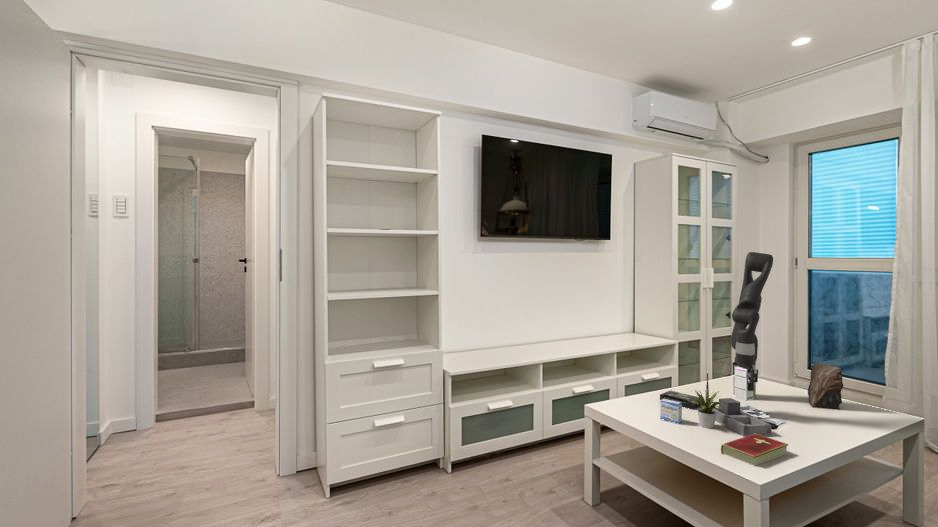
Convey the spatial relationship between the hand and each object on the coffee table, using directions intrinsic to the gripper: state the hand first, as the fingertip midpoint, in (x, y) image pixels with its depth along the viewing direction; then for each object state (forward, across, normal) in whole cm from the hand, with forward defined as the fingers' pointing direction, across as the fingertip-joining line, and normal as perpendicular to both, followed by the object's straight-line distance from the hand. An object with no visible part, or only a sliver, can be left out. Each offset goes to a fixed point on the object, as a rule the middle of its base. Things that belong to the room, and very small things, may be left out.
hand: (744, 388), depth 204 cm
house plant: (+11, +14, -28) cm, 33 cm away
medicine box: (+12, +6, -38) cm, 41 cm away
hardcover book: (+11, +41, -26) cm, 49 cm away
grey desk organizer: (+11, +12, -13) cm, 21 cm away
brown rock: (+12, -6, +43) cm, 45 cm away
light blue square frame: (+11, +1, 0) cm, 12 cm away
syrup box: (+5, 0, 0) cm, 5 cm away
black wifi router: (+13, -14, -20) cm, 28 cm away
